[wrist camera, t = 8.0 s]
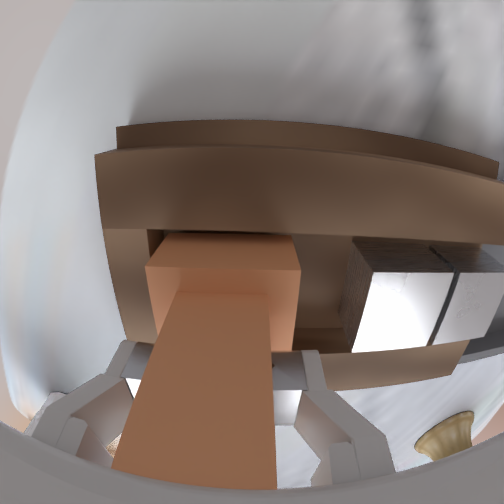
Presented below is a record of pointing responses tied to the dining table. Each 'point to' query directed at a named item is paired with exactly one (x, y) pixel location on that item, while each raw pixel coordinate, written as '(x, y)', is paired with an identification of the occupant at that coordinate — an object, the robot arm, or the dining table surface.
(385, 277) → the light grey block
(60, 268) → the dining table surface
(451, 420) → the hand bell
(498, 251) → the tray
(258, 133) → the slot board
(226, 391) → the stepped wedge block
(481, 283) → the grey square block
